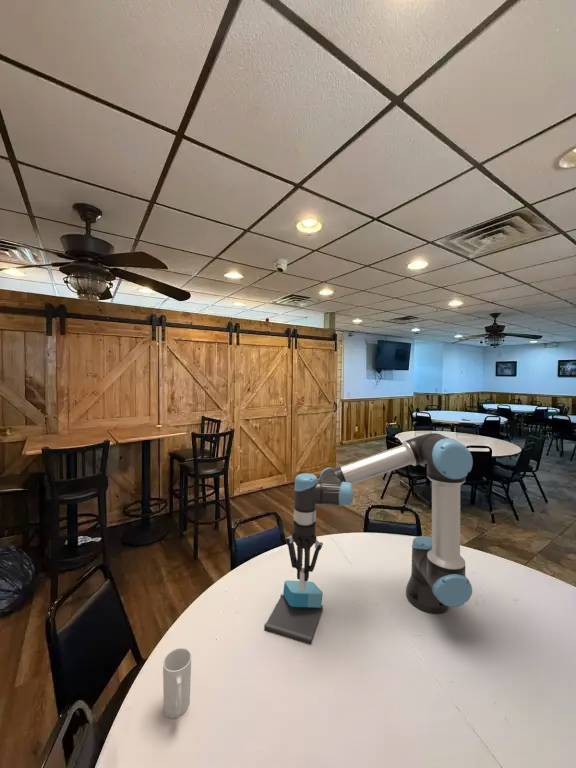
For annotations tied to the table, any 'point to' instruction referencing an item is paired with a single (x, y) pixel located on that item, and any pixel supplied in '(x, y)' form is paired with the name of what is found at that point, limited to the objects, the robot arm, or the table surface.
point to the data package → (302, 594)
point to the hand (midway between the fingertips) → (302, 588)
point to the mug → (176, 682)
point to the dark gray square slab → (294, 621)
